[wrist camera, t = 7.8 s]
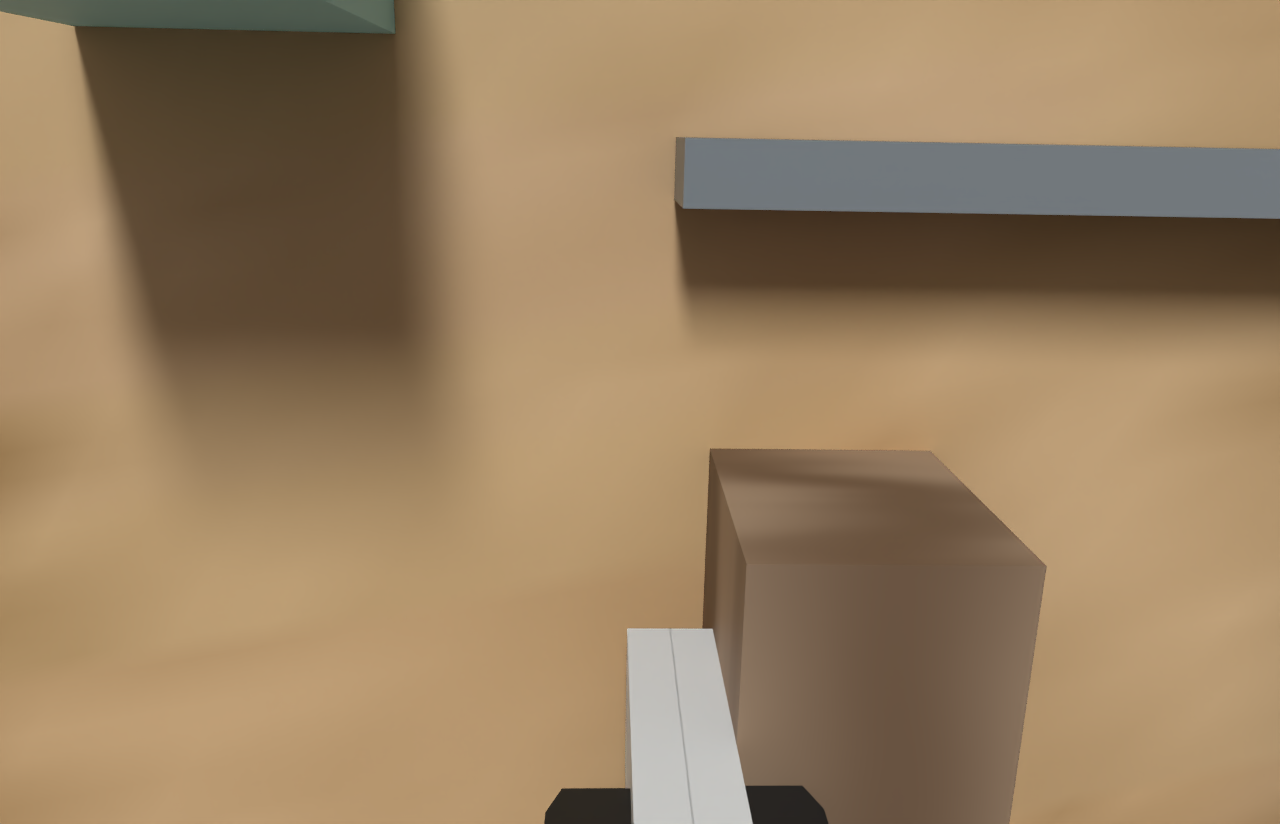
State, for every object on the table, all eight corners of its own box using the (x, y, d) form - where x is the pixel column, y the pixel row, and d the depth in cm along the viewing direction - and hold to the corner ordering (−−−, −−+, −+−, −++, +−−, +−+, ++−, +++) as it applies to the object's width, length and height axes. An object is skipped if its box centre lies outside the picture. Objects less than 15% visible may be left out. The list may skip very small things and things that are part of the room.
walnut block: (694, 822, 20) (721, 1043, 15) (709, 446, 18) (747, 564, 13) (889, 822, 20) (977, 1040, 15) (928, 449, 18) (1046, 565, 13)
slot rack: (650, 1046, 21) (654, 1137, 19) (694, -537, 14) (709, -647, 12) (1281, 1039, 22) (1346, 1126, 20) (1665, -495, 14) (1833, -594, 12)
